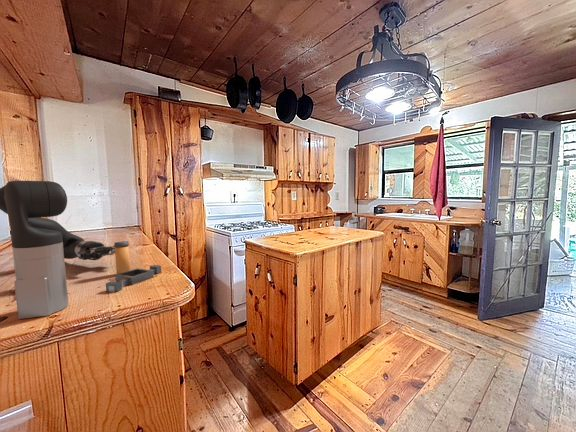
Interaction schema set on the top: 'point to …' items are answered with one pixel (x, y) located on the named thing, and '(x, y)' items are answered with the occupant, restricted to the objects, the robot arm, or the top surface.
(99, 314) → the top surface
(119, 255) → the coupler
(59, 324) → the top surface
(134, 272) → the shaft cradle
